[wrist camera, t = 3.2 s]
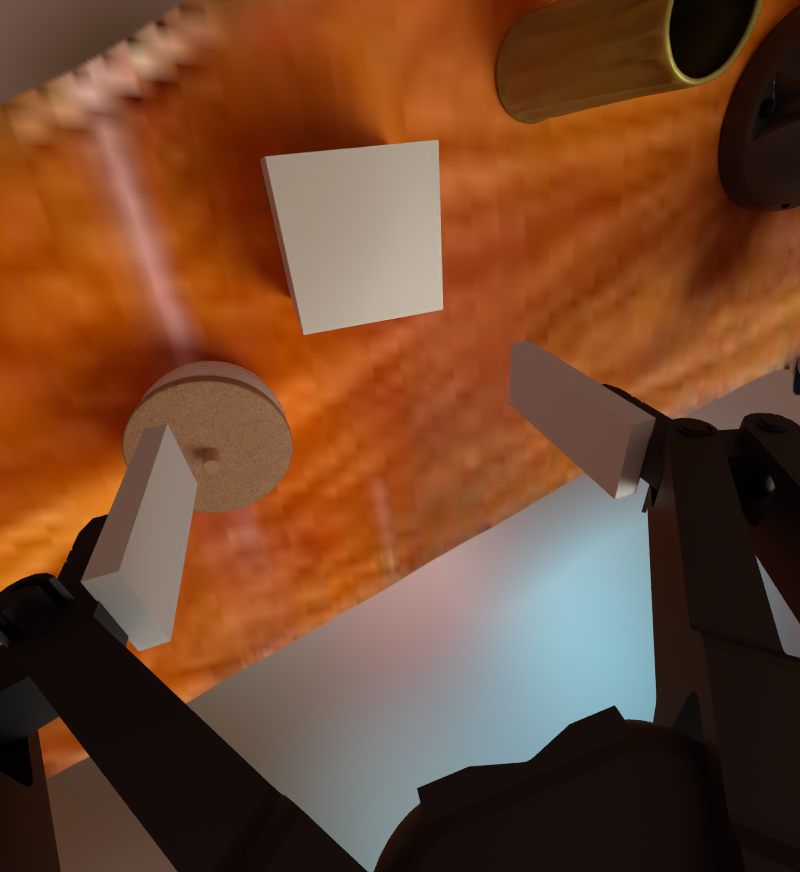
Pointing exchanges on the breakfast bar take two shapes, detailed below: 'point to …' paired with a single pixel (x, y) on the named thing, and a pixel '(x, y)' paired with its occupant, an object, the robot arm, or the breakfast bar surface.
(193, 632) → the breakfast bar surface
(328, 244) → the notched white block
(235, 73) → the breakfast bar surface
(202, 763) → the robot arm
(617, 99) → the vase
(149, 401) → the lidded jar
